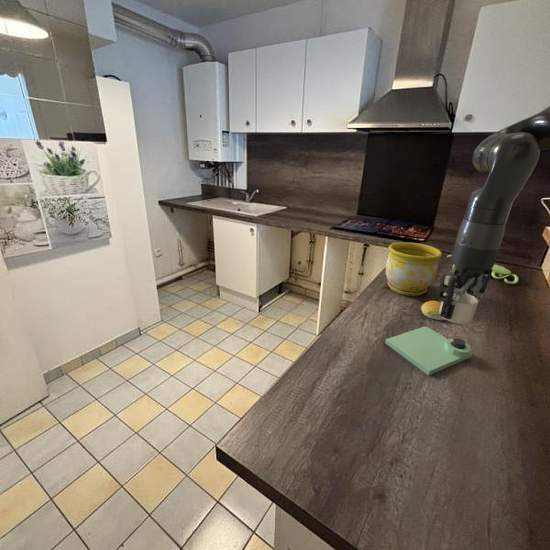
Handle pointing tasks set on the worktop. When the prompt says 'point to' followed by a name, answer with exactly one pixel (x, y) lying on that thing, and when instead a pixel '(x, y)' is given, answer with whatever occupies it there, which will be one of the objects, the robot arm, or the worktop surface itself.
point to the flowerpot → (411, 267)
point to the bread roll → (432, 310)
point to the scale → (428, 349)
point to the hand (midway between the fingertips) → (455, 313)
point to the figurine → (499, 272)
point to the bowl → (463, 309)
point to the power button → (458, 343)
